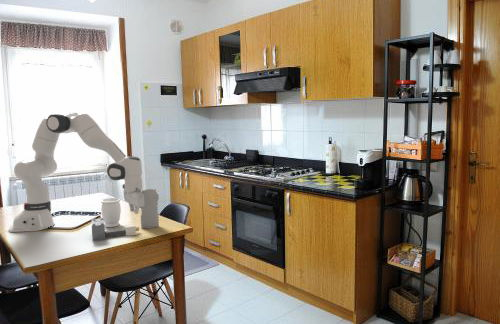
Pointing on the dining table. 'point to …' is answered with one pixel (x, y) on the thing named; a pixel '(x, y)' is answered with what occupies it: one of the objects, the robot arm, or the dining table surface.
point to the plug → (122, 231)
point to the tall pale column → (150, 209)
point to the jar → (111, 211)
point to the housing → (98, 229)
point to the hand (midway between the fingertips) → (134, 212)
